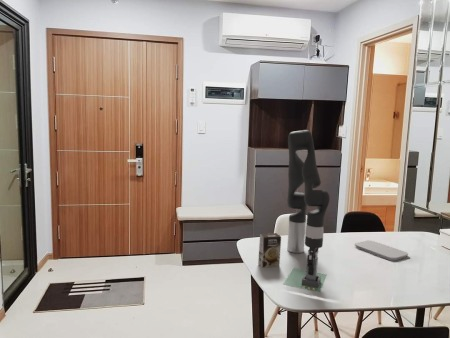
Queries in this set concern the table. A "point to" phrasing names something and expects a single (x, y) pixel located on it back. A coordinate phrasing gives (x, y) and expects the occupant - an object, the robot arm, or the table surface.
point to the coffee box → (269, 250)
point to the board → (304, 280)
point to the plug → (314, 276)
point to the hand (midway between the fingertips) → (311, 272)
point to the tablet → (381, 250)
